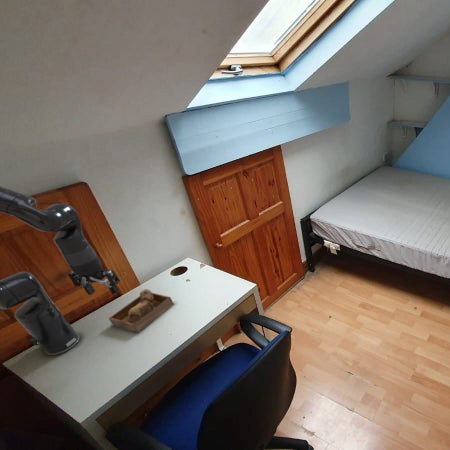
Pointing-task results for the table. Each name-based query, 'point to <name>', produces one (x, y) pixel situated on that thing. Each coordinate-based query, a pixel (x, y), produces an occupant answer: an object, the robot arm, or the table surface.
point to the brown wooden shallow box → (147, 316)
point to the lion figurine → (141, 305)
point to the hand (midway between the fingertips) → (104, 293)
